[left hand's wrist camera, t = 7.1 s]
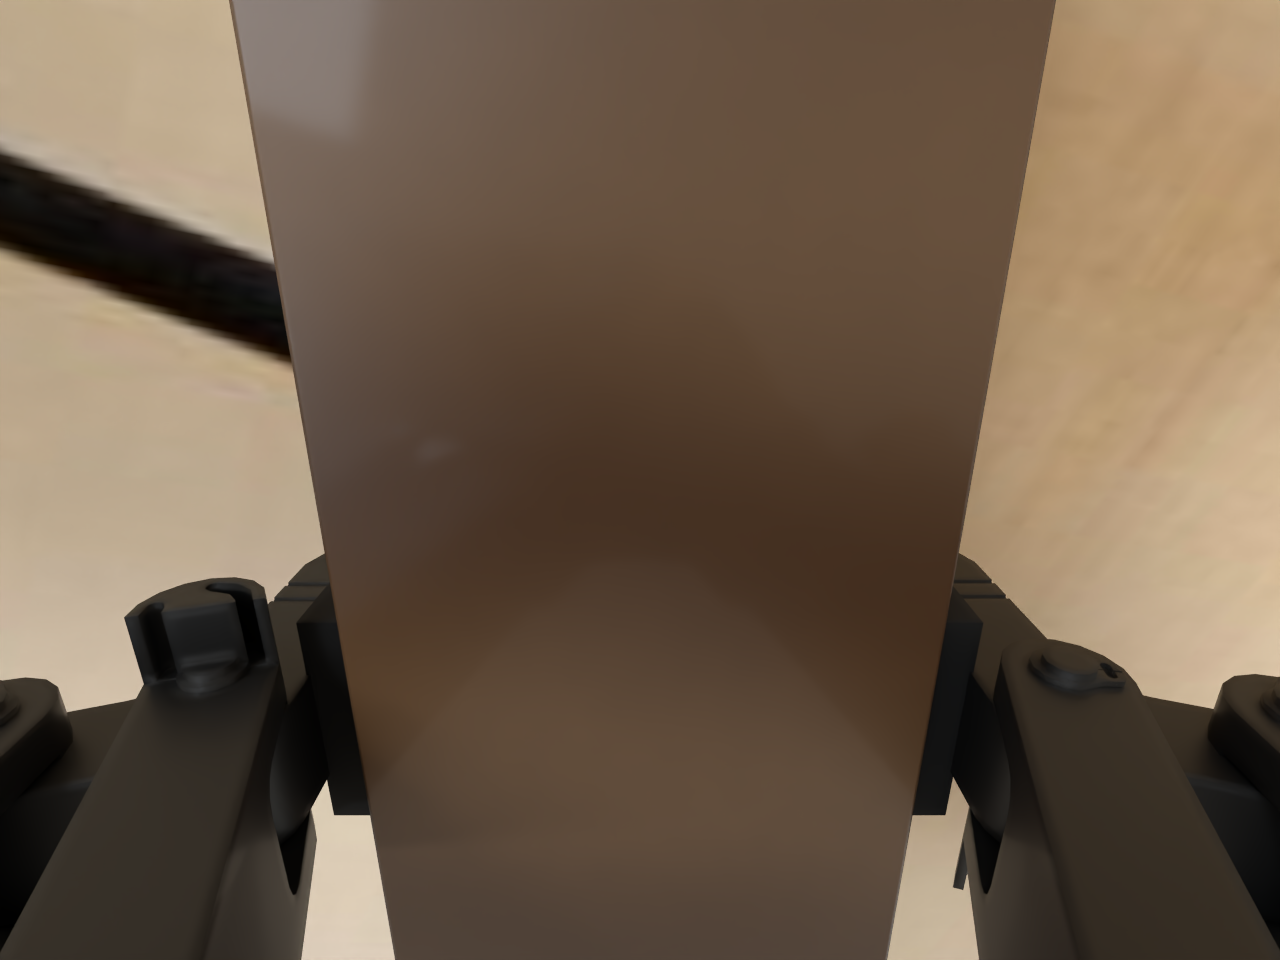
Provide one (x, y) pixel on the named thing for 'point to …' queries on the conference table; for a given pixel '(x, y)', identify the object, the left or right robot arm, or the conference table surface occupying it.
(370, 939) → the conference table surface
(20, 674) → the conference table surface
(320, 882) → the conference table surface
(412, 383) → the post
